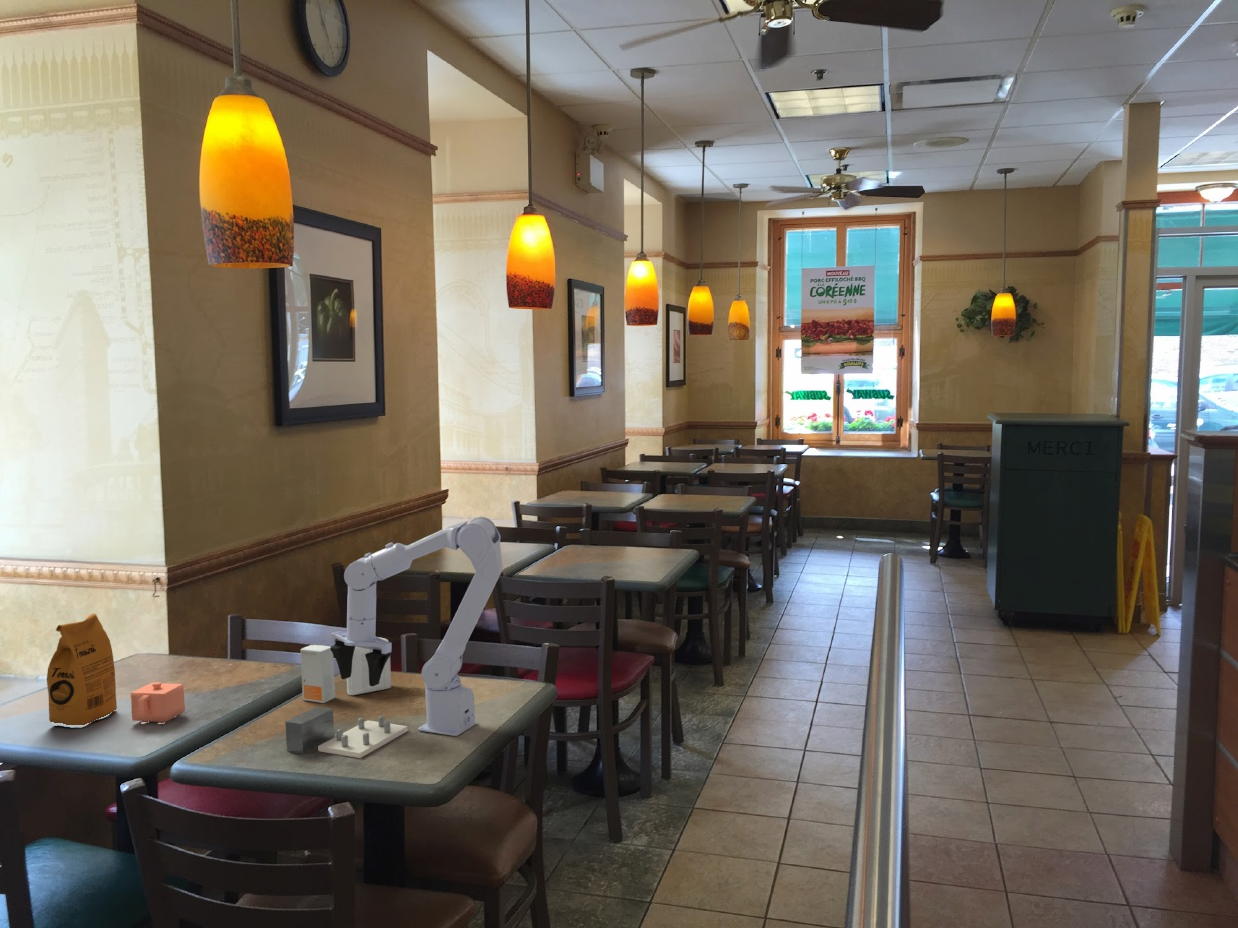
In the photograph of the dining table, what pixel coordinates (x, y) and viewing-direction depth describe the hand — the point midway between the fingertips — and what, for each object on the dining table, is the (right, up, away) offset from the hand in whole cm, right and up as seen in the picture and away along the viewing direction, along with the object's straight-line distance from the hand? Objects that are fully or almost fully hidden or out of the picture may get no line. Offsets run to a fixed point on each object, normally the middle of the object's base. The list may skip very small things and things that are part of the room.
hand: (360, 681), depth 197 cm
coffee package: (-62, -11, +9) cm, 64 cm away
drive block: (-8, -11, -8) cm, 15 cm away
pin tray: (+3, -10, -7) cm, 13 cm away
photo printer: (-4, -8, +24) cm, 26 cm away
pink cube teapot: (-45, -10, +9) cm, 47 cm away
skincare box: (-14, -9, +19) cm, 25 cm away
